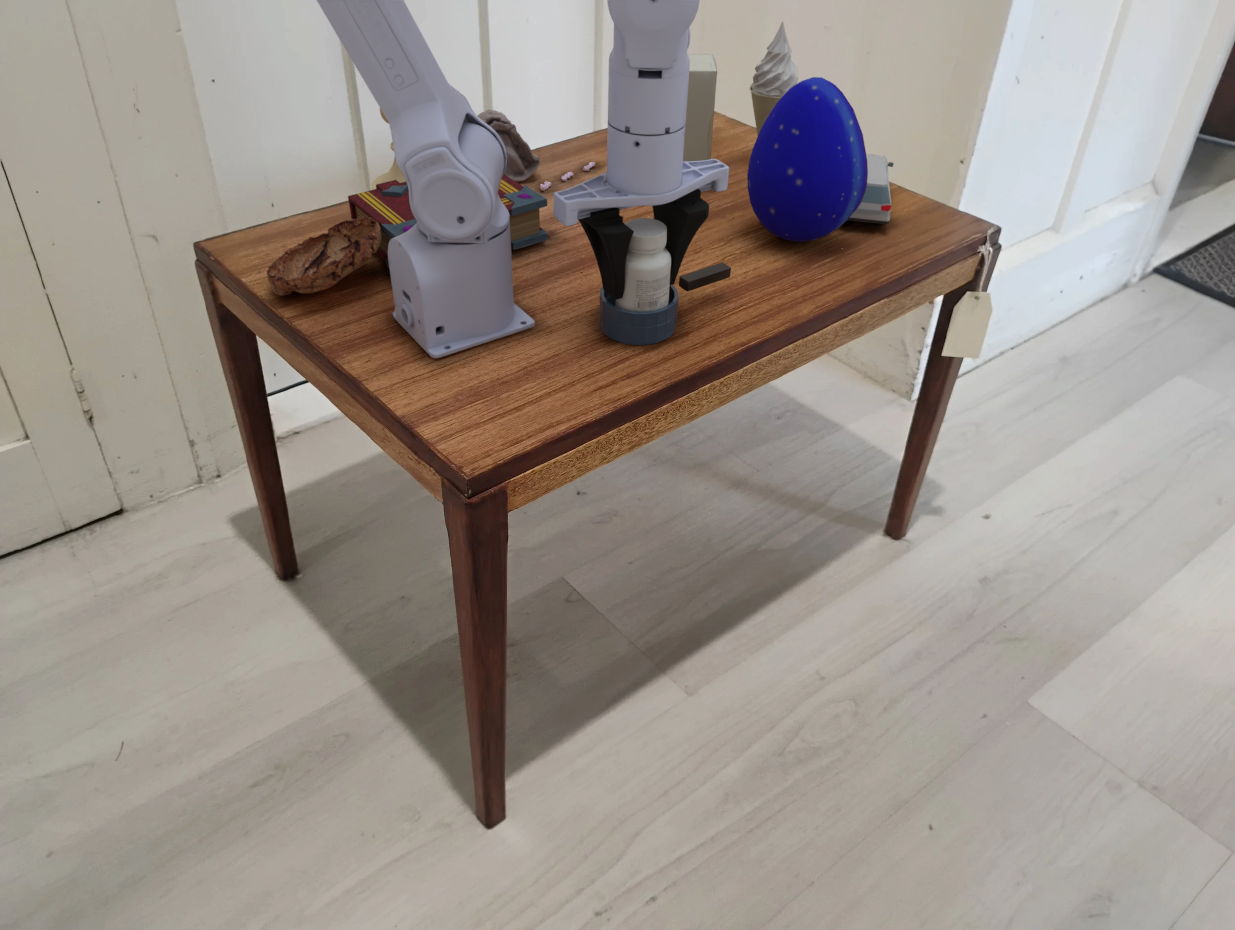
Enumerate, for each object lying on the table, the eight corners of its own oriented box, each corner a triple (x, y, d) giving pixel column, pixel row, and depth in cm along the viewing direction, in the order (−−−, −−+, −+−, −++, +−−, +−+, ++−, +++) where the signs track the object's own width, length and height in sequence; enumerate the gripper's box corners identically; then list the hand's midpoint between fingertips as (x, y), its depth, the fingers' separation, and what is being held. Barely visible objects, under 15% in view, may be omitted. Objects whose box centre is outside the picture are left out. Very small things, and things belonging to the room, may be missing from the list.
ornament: (867, 240, 94) (900, 83, 84) (810, 270, 89) (838, 107, 79) (779, 203, 100) (800, 53, 90) (721, 229, 95) (736, 73, 85)
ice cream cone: (784, 172, 107) (804, 29, 97) (739, 168, 107) (754, 25, 98) (787, 155, 111) (807, 16, 101) (743, 151, 111) (759, 12, 102)
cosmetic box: (709, 189, 103) (719, 71, 95) (667, 187, 103) (674, 70, 95) (705, 165, 108) (715, 52, 100) (666, 164, 108) (672, 51, 100)
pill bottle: (678, 310, 80) (684, 225, 75) (647, 332, 78) (651, 245, 73) (636, 294, 82) (638, 209, 77) (604, 315, 80) (605, 228, 75)
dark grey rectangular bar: (686, 292, 82) (687, 281, 81) (678, 286, 82) (679, 275, 82) (730, 277, 84) (731, 267, 83) (721, 272, 85) (722, 261, 84)
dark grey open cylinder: (628, 353, 78) (629, 321, 76) (584, 318, 82) (584, 286, 80) (691, 330, 81) (694, 299, 79) (646, 297, 85) (647, 267, 83)
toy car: (884, 179, 105) (894, 135, 102) (889, 236, 96) (901, 189, 92) (831, 174, 106) (839, 130, 102) (831, 230, 96) (840, 183, 93)
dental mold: (455, 127, 98) (445, 120, 102) (472, 194, 101) (461, 184, 105) (529, 108, 100) (516, 102, 104) (543, 174, 103) (530, 165, 107)
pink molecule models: (506, 212, 97) (506, 206, 97) (492, 203, 98) (492, 198, 98) (601, 168, 107) (602, 163, 106) (588, 161, 107) (588, 156, 107)
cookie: (373, 204, 87) (389, 234, 89) (266, 254, 87) (284, 283, 88) (376, 233, 79) (394, 265, 80) (258, 288, 78) (278, 319, 80)
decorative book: (351, 238, 92) (343, 188, 89) (497, 198, 99) (494, 151, 96) (406, 287, 85) (399, 234, 82) (558, 240, 92) (557, 190, 89)
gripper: (699, 90, 76) (687, 247, 84) (533, 119, 70) (538, 285, 79) (751, 119, 71) (733, 282, 80) (578, 153, 65) (578, 325, 74)
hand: (639, 286), depth 79 cm, fingers closed on pill bottle, 4 cm apart
